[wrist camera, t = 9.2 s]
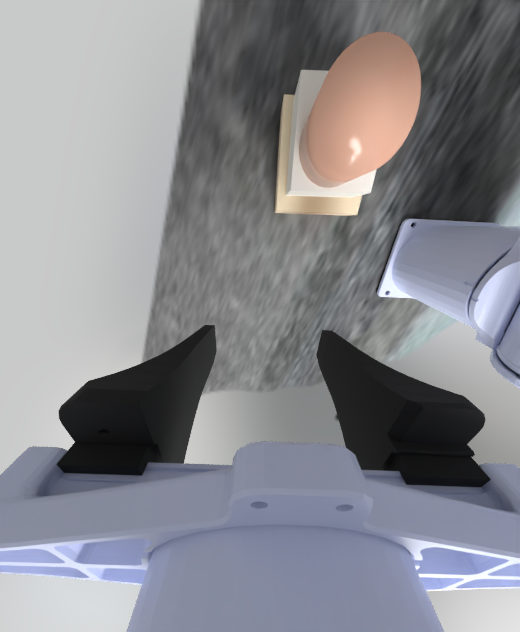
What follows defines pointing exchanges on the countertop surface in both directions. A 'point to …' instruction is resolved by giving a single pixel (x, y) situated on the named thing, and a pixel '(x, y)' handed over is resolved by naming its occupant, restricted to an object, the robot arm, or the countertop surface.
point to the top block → (296, 177)
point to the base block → (303, 202)
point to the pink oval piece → (361, 110)
